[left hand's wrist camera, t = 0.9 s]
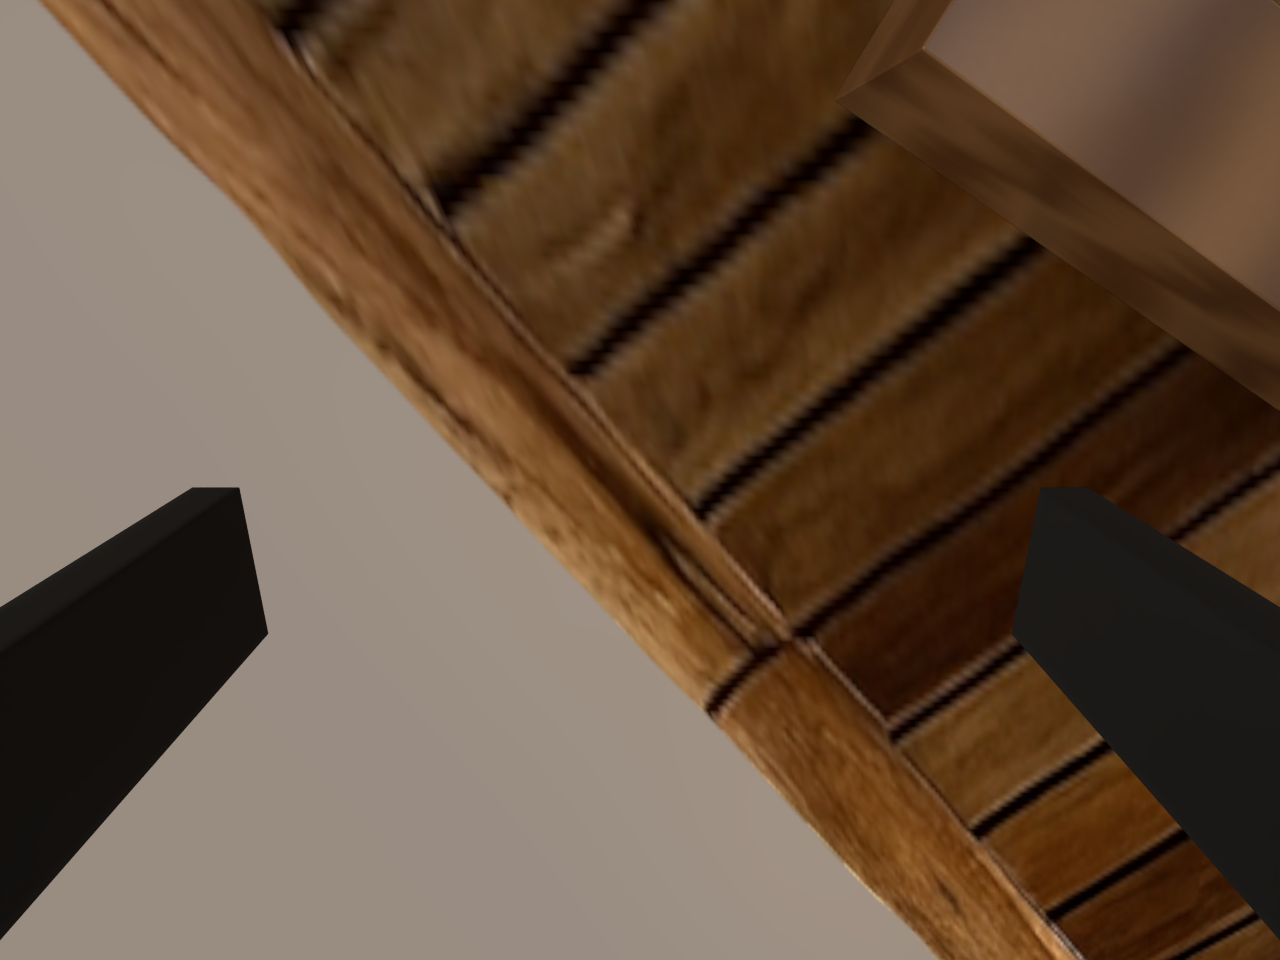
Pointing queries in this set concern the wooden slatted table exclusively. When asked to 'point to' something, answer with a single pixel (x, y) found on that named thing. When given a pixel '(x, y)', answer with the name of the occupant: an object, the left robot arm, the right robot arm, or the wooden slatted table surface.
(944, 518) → the wooden slatted table surface
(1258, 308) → the bar
